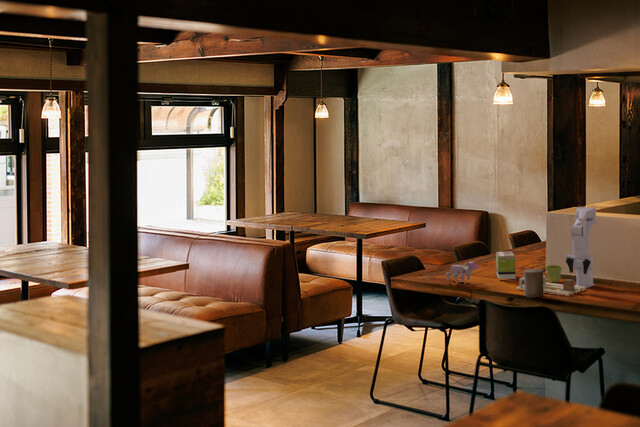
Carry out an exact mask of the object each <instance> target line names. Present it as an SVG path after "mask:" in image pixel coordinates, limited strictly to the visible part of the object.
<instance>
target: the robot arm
mask: <svg viewBox="0 0 640 427" xmlns="http://www.w3.org/2000/svg"><path fill="white" fill-rule="evenodd" d="M575 210H576V211H575V214H576V219H575V222H574V224H573V225H572V226H571V227H570V232H571V233H570V235H571V240H572V241H571V242H572V254H564V260H565V263H566V264H567V266H568V269H569V273H574V270H575V271H576V274H575V275H576V284H574V286H581V287H585V289H588V288H590V287H593V286H595V285H596V284H595V283H594V272H593V268H594V257H593V255H592V254H591V253H590V252H589V251H590V250H589V249H590V239H591V230H592V227H593V226H592V225H595V224H596V219H597V208H596V207H595V206H593V207H589V206H588V207H584V206H581V207H580V206H577V208H576V209H575Z"/></svg>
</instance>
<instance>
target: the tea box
mask: <svg viewBox="0 0 640 427" xmlns="http://www.w3.org/2000/svg"><path fill="white" fill-rule="evenodd" d="M495 258H496V259H495V260H496V262H495V263H496V266H495V267H496V276H498V277H497V279H498V278H499V279H515V280H514V281H516V280H517V279H516V276H517V275H516V256H515V254H514V252H513V251H496V252H495Z"/></svg>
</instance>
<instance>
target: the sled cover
mask: <svg viewBox="0 0 640 427" xmlns="http://www.w3.org/2000/svg"><path fill="white" fill-rule="evenodd" d="M518 280H519V286H518V287H523V285H524V284H523V282H524V276H523V277H520V278H519V279H518ZM546 283H547V275H543V284H546Z"/></svg>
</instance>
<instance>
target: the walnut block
mask: <svg viewBox="0 0 640 427" xmlns="http://www.w3.org/2000/svg"><path fill="white" fill-rule="evenodd" d="M562 284H563V290H573V289H574V285H575V279H572V278H569V279H568V278H565V279H563V280H562Z"/></svg>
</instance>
